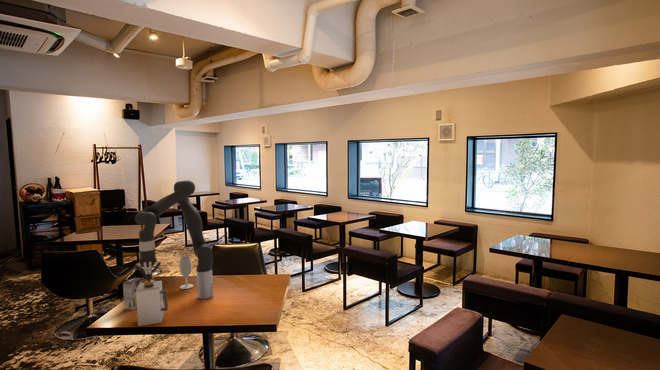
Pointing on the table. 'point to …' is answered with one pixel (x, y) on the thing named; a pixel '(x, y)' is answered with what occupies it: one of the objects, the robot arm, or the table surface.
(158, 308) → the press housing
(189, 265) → the wineglass
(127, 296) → the coffee box
